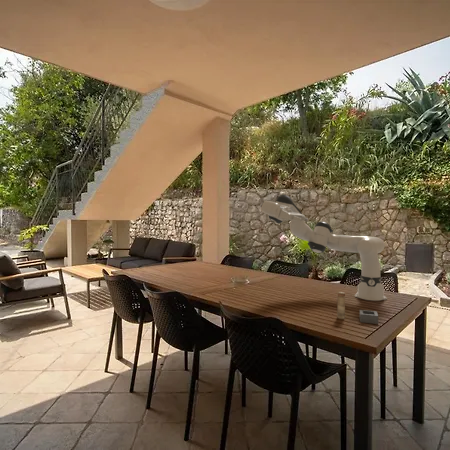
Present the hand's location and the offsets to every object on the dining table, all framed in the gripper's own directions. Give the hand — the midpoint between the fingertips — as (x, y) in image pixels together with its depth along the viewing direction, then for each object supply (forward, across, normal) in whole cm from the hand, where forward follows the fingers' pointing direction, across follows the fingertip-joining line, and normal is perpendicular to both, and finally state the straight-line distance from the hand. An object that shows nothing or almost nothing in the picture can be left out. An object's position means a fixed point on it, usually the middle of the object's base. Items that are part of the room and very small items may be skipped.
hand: (304, 220), depth 185 cm
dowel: (+38, +5, -41) cm, 56 cm away
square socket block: (+50, +1, -37) cm, 62 cm away
